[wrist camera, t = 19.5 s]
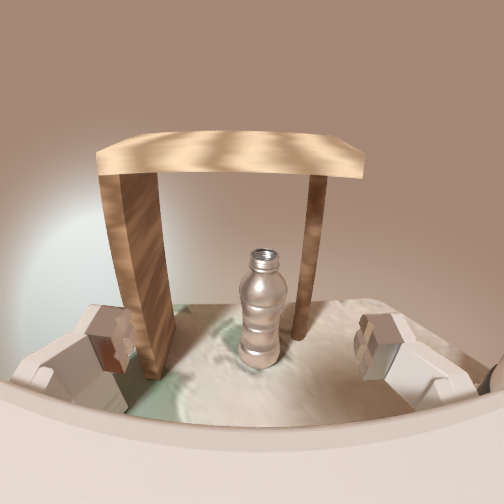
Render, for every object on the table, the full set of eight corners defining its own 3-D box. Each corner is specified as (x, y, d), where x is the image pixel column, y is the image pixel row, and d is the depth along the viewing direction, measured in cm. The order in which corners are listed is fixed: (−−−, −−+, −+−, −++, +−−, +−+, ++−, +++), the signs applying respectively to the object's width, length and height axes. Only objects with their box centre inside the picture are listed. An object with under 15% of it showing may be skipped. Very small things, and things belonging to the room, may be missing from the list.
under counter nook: (307, 330, 56) (333, 136, 39) (317, 385, 44) (365, 154, 28) (163, 325, 56) (138, 134, 39) (146, 378, 44) (95, 152, 28)
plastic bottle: (242, 343, 52) (242, 240, 43) (280, 348, 52) (292, 245, 42) (234, 371, 47) (232, 264, 37) (276, 376, 46) (289, 270, 36)
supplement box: (97, 386, 41) (70, 328, 35) (130, 408, 39) (104, 351, 33) (68, 414, 35) (32, 359, 29) (100, 440, 33) (64, 389, 27)
